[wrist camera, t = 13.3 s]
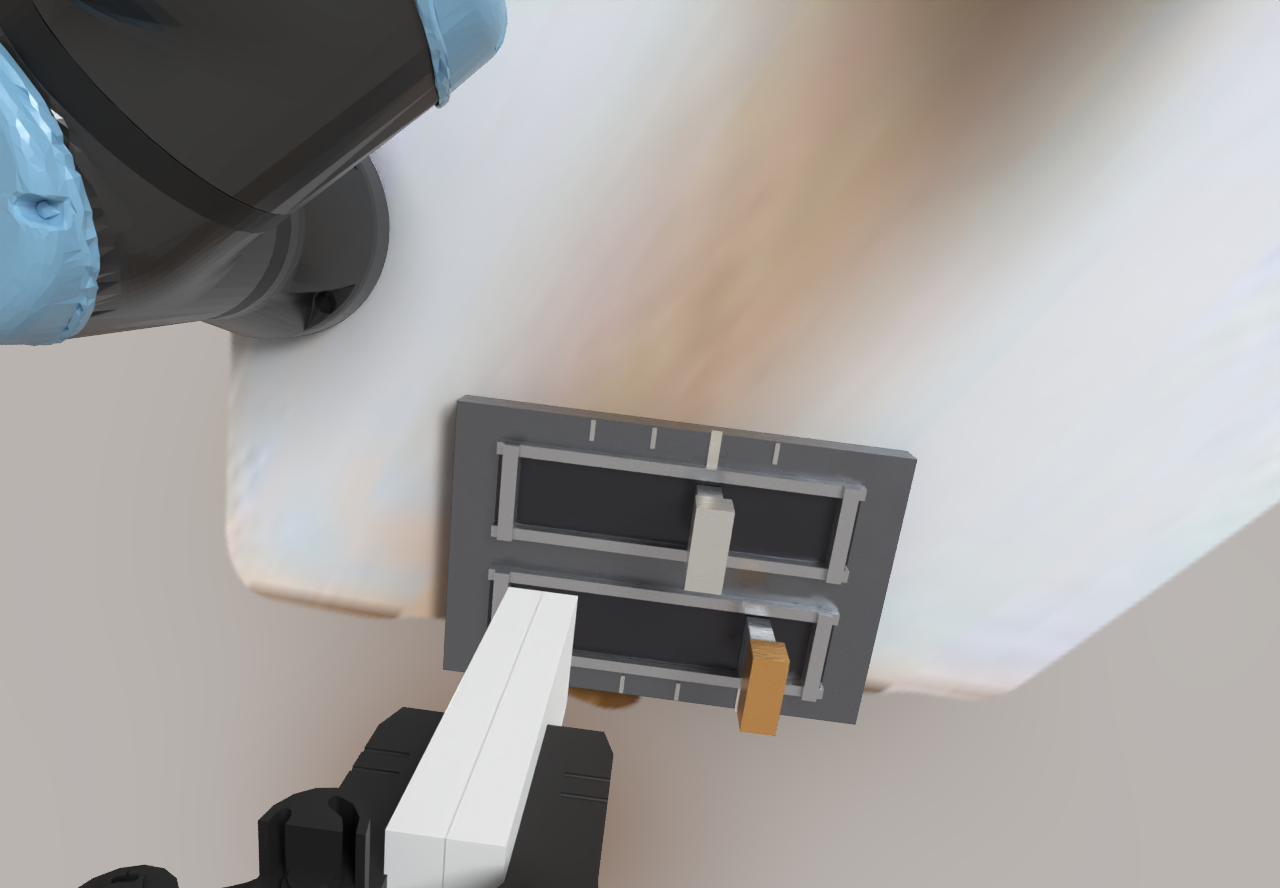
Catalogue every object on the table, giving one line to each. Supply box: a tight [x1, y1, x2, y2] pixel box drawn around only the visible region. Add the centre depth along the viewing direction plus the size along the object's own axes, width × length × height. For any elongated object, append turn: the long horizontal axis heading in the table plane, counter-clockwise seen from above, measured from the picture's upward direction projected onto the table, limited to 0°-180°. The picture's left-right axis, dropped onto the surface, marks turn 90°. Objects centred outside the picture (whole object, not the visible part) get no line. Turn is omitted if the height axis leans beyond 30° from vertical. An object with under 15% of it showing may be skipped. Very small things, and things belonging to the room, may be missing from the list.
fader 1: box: [684, 484, 735, 595], centre depth 43 cm, size 2×5×6 cm, turn 173°
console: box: [443, 395, 917, 724], centre depth 48 cm, size 30×20×3 cm
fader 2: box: [737, 616, 790, 736], centre depth 45 cm, size 2×5×6 cm, turn 173°
